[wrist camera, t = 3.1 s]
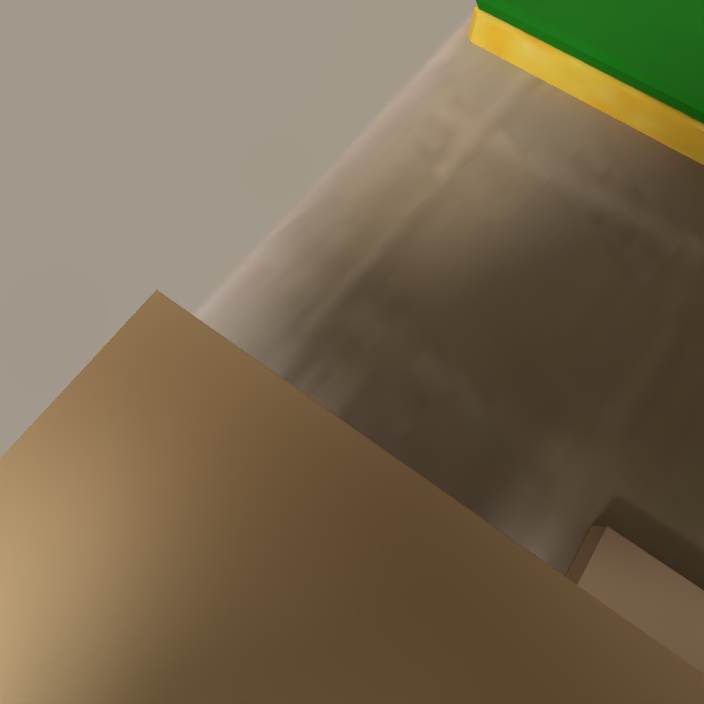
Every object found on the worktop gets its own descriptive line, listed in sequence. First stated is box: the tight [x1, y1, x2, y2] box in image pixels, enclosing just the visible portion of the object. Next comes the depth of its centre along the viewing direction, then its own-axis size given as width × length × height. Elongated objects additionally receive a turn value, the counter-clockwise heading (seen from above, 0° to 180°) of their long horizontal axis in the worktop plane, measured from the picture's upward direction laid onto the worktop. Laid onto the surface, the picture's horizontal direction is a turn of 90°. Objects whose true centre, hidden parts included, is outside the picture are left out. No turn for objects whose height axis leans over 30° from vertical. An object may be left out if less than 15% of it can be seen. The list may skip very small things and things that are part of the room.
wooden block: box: [0, 290, 704, 704], centre depth 9 cm, size 4×6×12 cm
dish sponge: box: [469, 0, 704, 165], centre depth 21 cm, size 7×14×2 cm, turn 51°
